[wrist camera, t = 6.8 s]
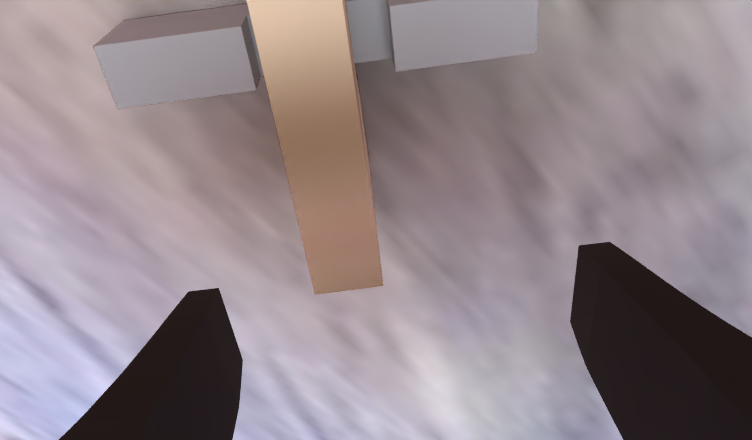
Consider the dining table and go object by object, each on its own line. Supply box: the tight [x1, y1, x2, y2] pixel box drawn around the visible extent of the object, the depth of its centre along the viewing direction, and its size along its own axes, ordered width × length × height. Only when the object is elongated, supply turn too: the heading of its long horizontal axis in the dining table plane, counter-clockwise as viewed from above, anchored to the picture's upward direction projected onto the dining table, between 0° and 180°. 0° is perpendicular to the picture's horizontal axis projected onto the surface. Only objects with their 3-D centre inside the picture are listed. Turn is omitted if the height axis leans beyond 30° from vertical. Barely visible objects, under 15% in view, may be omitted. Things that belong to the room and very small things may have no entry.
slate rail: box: [93, 0, 538, 109], centre depth 17 cm, size 12×2×3 cm, turn 96°
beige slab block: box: [247, 0, 383, 295], centre depth 15 cm, size 10×2×7 cm, turn 6°
